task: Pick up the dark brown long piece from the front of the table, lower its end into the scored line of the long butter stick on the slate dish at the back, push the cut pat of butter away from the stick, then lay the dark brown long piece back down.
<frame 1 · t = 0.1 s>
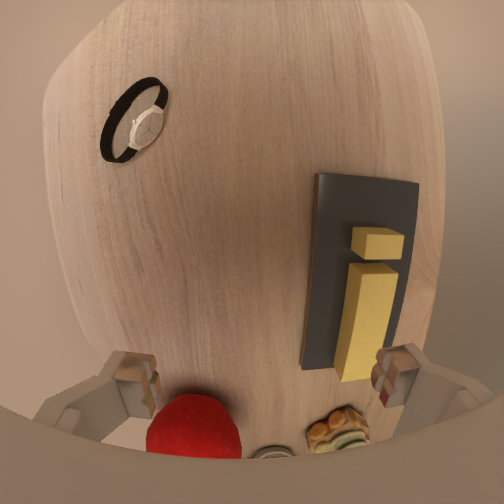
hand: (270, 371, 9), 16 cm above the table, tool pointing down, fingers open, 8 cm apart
butter block: (357, 317, 26), point 1 cm above the table, touching butter dish
apple: (199, 404, 30), on the table
ceramic mug: (269, 462, 34), on the table
butter pat: (369, 238, 23), point 1 cm above the table, touching butter dish
ornament: (333, 423, 32), on the table
watch: (139, 122, 21), on the table
butter dish: (358, 278, 26), on the table
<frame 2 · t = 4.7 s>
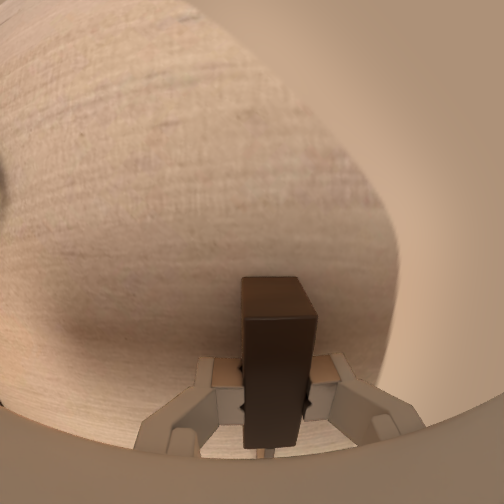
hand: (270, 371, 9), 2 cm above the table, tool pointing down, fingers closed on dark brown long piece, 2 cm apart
dark brown long piece: (263, 398, 12), on the table, touching gripper
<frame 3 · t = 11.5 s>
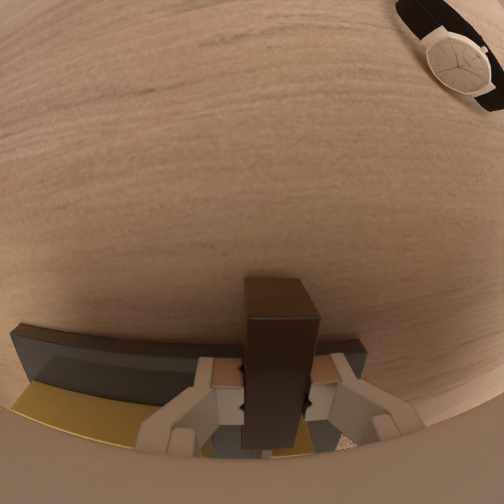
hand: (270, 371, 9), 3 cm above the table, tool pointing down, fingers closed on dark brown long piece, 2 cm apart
butter block: (114, 418, 13), point 1 cm above the table, touching butter dish
dark brown long piece: (262, 399, 12), point 2 cm above the table, touching gripper
butter pat: (280, 429, 13), point 1 cm above the table, touching butter dish
watch: (444, 55, 9), on the table
butter dish: (176, 412, 14), on the table
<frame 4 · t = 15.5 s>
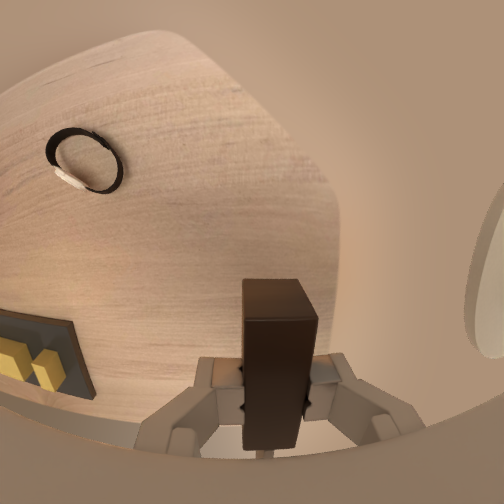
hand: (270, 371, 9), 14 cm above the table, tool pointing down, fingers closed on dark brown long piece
butter block: (4, 348, 23), point 1 cm above the table, touching butter dish
dark brown long piece: (263, 400, 12), point 12 cm above the table, touching gripper
butter pat: (55, 362, 24), point 1 cm above the table, touching butter dish
watch: (92, 160, 20), on the table
butter dish: (25, 348, 25), on the table
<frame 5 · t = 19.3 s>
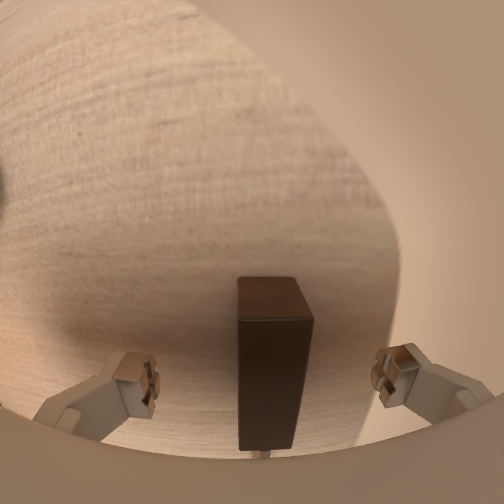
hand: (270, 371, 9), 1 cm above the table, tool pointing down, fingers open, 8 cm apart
dark brown long piece: (260, 399, 12), on the table
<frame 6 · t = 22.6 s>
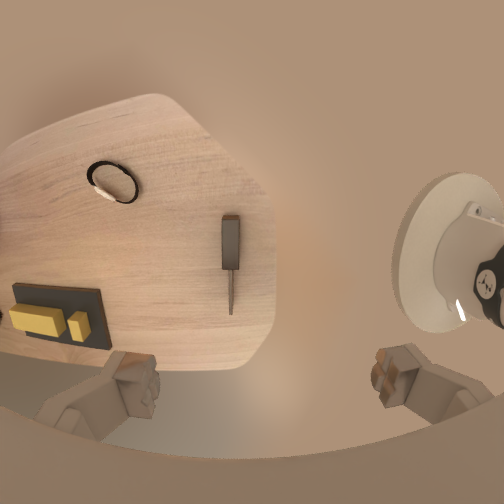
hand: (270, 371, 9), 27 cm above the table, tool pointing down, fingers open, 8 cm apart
butter block: (40, 315, 37), point 1 cm above the table, touching butter dish
dark brown long piece: (231, 262, 37), on the table
butter pat: (83, 321, 37), point 1 cm above the table, touching butter dish
watch: (117, 181, 33), on the table
butter dish: (58, 314, 38), on the table
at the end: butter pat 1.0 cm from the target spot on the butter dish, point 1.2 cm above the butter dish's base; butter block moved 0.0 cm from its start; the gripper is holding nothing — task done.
